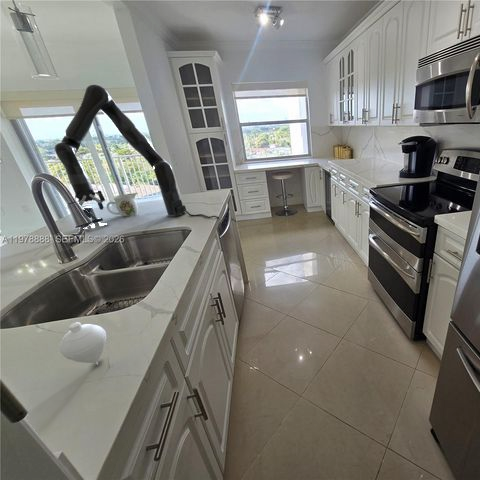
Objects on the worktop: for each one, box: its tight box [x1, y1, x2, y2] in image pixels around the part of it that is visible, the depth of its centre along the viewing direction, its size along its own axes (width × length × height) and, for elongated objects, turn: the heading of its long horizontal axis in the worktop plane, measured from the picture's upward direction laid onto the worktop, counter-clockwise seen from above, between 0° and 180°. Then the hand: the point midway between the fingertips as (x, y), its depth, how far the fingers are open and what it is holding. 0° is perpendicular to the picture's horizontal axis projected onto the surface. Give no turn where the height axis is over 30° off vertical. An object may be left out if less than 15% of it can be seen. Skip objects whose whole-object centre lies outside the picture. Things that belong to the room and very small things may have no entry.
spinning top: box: [59, 321, 107, 366], centre depth 57 cm, size 8×8×12 cm
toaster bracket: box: [85, 206, 107, 231], centre depth 148 cm, size 12×9×12 cm
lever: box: [83, 207, 104, 223], centre depth 145 cm, size 12×5×2 cm, turn 62°
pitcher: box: [106, 192, 139, 217], centre depth 164 cm, size 11×18×14 cm, turn 126°
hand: (92, 211), depth 142 cm, fingers open, 8 cm apart
